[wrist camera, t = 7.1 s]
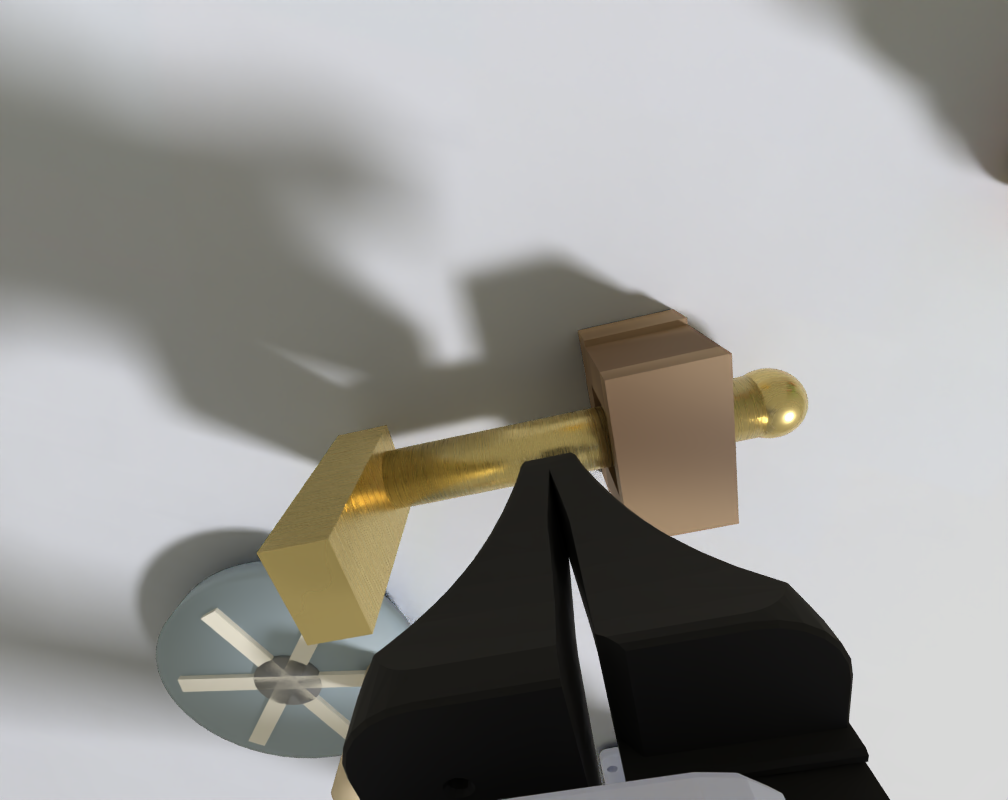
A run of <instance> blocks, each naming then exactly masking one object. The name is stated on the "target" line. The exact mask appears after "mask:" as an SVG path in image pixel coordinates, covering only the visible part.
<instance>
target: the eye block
mask: <svg viewBox="0 0 1008 800" xmlns="http://www.w3.org/2000/svg"><path fill="white" fill-rule="evenodd" d="M578 335H579V341H580V346H581V352H582V358H583V364H584V370H585V375H586V381H587V387H588V393H589V399H590V404H591V408H594V407H599V406H602V407H603V409H604V411H605V413H606V415H607V421H608V428H609V434H610V440H611V447H612V453H613V459H614V465H615V466H612V467H607V468H602V474H603V476H604V479H605V482H606V484H607V487H608V490H609V492H611V494H612V495H613V496H614V497H615V498H616V499H617V500H619V501H620V502H621V503H622V504H624V505H625V506H626V507H627V508H628V509H630V510H631V511H632V512H634V513H635V514H636V515H638V516H639V517H641V518H642V519H643V520H645V521H646V522H648V523H649V524H651V525H652V526H654V527H655V528H657V529H658V530H660V531H662V532H664V533H665V534H667V535H669V536H674V535H679V534H685V533H690V532H695V531H701V530H706V529H712V528H717V527H722V526H728V525H733V524H739V517H738V493H737V468H736V444H735V420H734V396H733V372H732V353H730V352H729V351H727V350H726V349H724V348H723V347H721V346H720V345H718V344H717V343H715V342H714V341H712V340H710V339H709V338H707V337H706V336H704V335H703V334H701V333H700V332H698V331H697V330H695V329H694V328H692V327H691V326H689V325H688V323H687V318H686V317H685V316H683V315H682V314H680V313H678V312H677V311H675V310H674V309H671V310H667V311H662V312H658V313H653V314H649V315H644V316H640V317H636V318H631V319H627V320H622V321H618V322H613V323H609V324H604V325H600V326H595V327H591V328H587V329H582V330H578Z"/></svg>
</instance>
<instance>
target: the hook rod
mask: <svg viewBox="0 0 1008 800" xmlns="http://www.w3.org/2000/svg"><path fill="white" fill-rule="evenodd" d="M733 396H734V420H735V442H738V441H743V440H748V439H753V438H758V437H760V438H776V437H780V436H784V435H786V434H788V433H790V432H792V431H793V430H795V429H796V428H797V427H798V426H799V425H800V424H801V423H802V421H803V420H804V418H805V416H806V413H807V409H808V398H807V394H806V391H805V389H804V387H803V386H802V384H801V383H800V382H799V381H798V380H797V379H796V378H795V377H794V376H792V375H791V374H789V373H787V372H784V371H782V370H777V369H771V368H765V369H758V370H754V371H751V372H749V373H747V374H745V375H744V376H742V377H737V378H733ZM570 452H572V453H573V454H575V455H576V456H577V458H578V459H579V460H580V462H581V463H582V464H583V466H584V467H585V468H586V469H587V470H588V471H592V470H597V469H602V468H607V467H612V466H615V465H614V459H613V453H612V447H611V440H610V434H609V428H608V421H607V415H606V413H605V411H604V409H603V407H602V406H599V407H594V408H589V409H584V410H580V411H575V412H570V413H565V414H561V415H556V416H551V417H546V418H542V419H537V420H532V421H527V422H523V423H518V424H513V425H508V426H504V427H499V428H494V429H489V430H484V431H480V432H475V433H470V434H465V435H461V436H456V437H451V438H446V439H442V440H437V441H432V442H427V443H423V444H418V445H413V446H408V447H404V448H399V449H395V447H394V444H393V442H392V439H391V436H390V434H389V431H388V428H387V425H385V426H380V427H376V428H371V429H366V430H362V431H357V432H353V433H348V434H343V435H339V436H338V437H337V438H336V440H335V441H334V443H333V444H332V445H331V447H330V448H329V450H328V451H327V453H326V454H325V455H324V457H323V458H322V460H321V461H320V463H319V464H318V466H317V467H316V468H315V470H314V471H313V473H312V474H311V476H310V477H309V478H308V480H307V481H306V483H305V484H304V486H303V487H302V489H301V490H300V491H299V493H298V494H297V496H296V497H295V499H294V500H293V501H292V503H291V504H290V506H289V507H288V509H287V510H286V512H285V513H284V514H283V516H282V517H281V519H280V520H279V522H278V523H277V524H276V526H275V527H274V529H273V530H272V532H271V533H270V535H269V536H268V537H267V539H266V540H265V542H264V543H263V545H262V546H261V547H260V549H259V550H258V552H257V555H258V557H259V558H260V560H261V562H262V564H263V566H264V568H265V569H266V571H267V573H268V575H269V577H270V578H271V580H272V582H273V584H274V586H275V587H276V589H277V591H278V593H279V595H280V596H281V598H282V600H283V602H284V604H285V606H286V607H287V609H288V611H289V613H290V615H291V616H292V618H293V620H294V622H295V624H296V625H297V627H298V629H299V631H300V633H301V634H302V636H303V638H304V640H305V642H306V644H307V645H314V644H319V643H325V642H330V641H336V640H342V639H347V638H353V637H359V636H364V635H370V634H373V631H374V628H375V625H376V621H377V618H378V614H379V611H380V608H381V604H382V601H383V598H384V594H385V591H386V587H387V584H388V581H389V577H390V574H391V571H392V567H393V564H394V560H395V557H396V554H397V550H398V547H399V544H400V540H401V537H402V533H403V530H404V527H405V523H406V520H407V517H408V513H409V510H410V507H411V506H416V505H421V504H426V503H431V502H436V501H441V500H446V499H451V498H456V497H461V496H466V495H472V494H477V493H482V492H487V491H492V490H497V489H502V488H507V487H512V486H514V485H515V483H516V480H517V477H518V474H519V471H520V467H521V465H522V464H523V463H524V462H525V461H530V460H535V459H540V458H545V457H550V456H555V455H560V454H565V453H570Z"/></svg>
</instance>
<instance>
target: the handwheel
mask: <svg viewBox="0 0 1008 800" xmlns="http://www.w3.org/2000/svg"><path fill="white" fill-rule="evenodd" d="M410 626H411V625H410V623H409V622H408V620H407V619H406V617H405V616H404V615H403V614H402V613H401V611H400V610H399V609H398V608H397V607H396V606H395V605H394V604H393V603H392V602H391V601H390V600H389V599H388V598H386V597H385V596H384V598H383V601H382V604H381V608H380V611H379V614H378V618H377V621H376V625H375V628H374V631H373V634H370V635H364V636H359V637H353V638H347V639H342V640H336V641H330V642H325V643H319V644H314V645H307V644H306V642H305V640H304V638H303V636H302V634H301V633H300V631H299V629H298V627H297V625H296V624H295V622H294V620H293V618H292V616H291V615H290V613H289V611H288V609H287V607H286V606H285V604H284V602H283V600H282V598H281V596H280V595H279V593H278V591H277V589H276V587H275V586H274V584H273V582H272V580H271V578H270V577H269V575H268V573H267V571H266V569H265V568H264V566H263V564H262V562H261V561H259V562H251V563H246V564H241V565H237V566H234V567H231V568H228V569H225V570H222V571H220V572H218V573H216V574H214V575H212V576H210V577H208V578H207V579H205V580H204V581H202V582H201V583H199V584H198V585H197V586H196V587H195V588H194V589H193V590H192V591H191V592H190V593H189V594H188V595H187V596H186V597H185V599H184V600H183V601H182V602H181V604H180V605H179V606H178V607H177V609H176V610H175V611H174V612H173V614H172V615H171V616H170V618H169V619H168V620H167V622H166V623H165V624H164V626H163V628H162V631H161V633H160V635H159V638H158V643H157V647H156V661H157V667H158V672H159V674H160V677H161V680H162V682H163V684H164V686H165V688H166V690H167V691H168V693H169V695H170V696H171V697H172V699H173V700H174V701H175V702H176V704H177V705H178V706H179V707H180V708H181V709H182V710H183V711H184V712H185V713H186V714H187V715H188V716H189V717H191V718H192V719H193V720H194V721H196V722H197V723H198V724H199V725H201V726H203V727H204V728H206V729H207V730H209V731H210V732H212V733H214V734H216V735H217V736H219V737H221V738H223V739H225V740H228V741H230V742H232V743H234V744H237V745H239V746H242V747H245V748H248V749H251V750H255V751H259V752H263V753H267V754H272V755H278V756H283V757H294V758H322V757H332V756H339V755H343V746H344V742H345V739H346V735H347V732H348V729H349V725H350V722H351V718H352V715H353V711H354V708H355V704H356V701H357V697H358V695H359V692H360V689H361V686H362V683H363V680H364V678H365V676H366V673H367V671H368V669H369V666H370V664H371V661H372V658H373V656H374V654H376V653H377V652H378V651H380V650H381V649H382V648H384V647H385V646H386V645H387V644H389V643H390V642H391V641H392V640H394V639H395V638H396V637H397V636H399V635H400V634H401V633H402V632H403V631H405V630H406V629H407V628H408V627H410ZM331 795H332V798H333V800H360V799H359V797H358V795H357V794H356V792H355V790H354V789H353V787H352V785H351V784H350V782H349V780H348V779H347V776H346V773H345V771H344V768H343V765H342V756H341V759H340V763H339V766H338V770H337V773H336V777H335V780H334V784H333V787H332V791H331Z"/></svg>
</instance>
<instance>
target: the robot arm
mask: <svg viewBox="0 0 1008 800" xmlns="http://www.w3.org/2000/svg"><path fill="white" fill-rule="evenodd" d="M569 559H570V562H571V566H572V569H573V572H574V575H575V579H576V582H577V585H578V588H579V591H580V595H581V598H582V601H583V604H584V608H585V611H586V614H587V617H588V620H589V624H590V627H591V630H592V633H593V637H594V640H595V644H596V648H597V652H598V656H599V660H600V665H601V670H602V674H603V679H604V684H605V688H606V693H607V698H608V702H609V707H610V711H611V716H612V721H613V725H614V730H615V735H616V739H617V744H618V747H613V748H607V749H604V750H603V751H601V753H600V754H599V758H600V763H601V768H602V772H603V776H604V780H605V784H606V785H602V784H601V779H600V773H599V768H598V763H597V757H596V752H595V746H594V741H593V735H592V730H591V724H590V719H589V714H588V708H587V703H586V697H585V692H584V686H583V680H582V675H581V669H580V664H579V658H578V651H577V643H576V634H575V623H574V611H573V600H572V588H571V577H570V565H569ZM852 680H853V672H852V664H851V658H850V656H849V655H848V653H847V651H846V650H845V648H844V646H843V645H842V643H841V642H840V641H839V639H838V638H837V637H836V635H835V634H834V633H833V631H832V630H831V629H830V628H829V626H828V625H827V624H826V623H825V621H824V620H823V619H822V618H821V617H820V616H819V615H818V614H817V613H816V612H815V611H814V609H813V608H812V607H811V606H810V605H809V604H808V603H807V602H806V601H805V600H804V599H803V598H802V597H801V596H800V595H799V594H798V593H797V592H796V591H795V590H794V589H793V588H792V587H791V586H790V585H789V584H788V583H786V582H783V581H780V580H776V579H773V578H770V577H767V576H764V575H761V574H758V573H755V572H752V571H749V570H746V569H743V568H739V567H737V566H734V565H731V564H729V563H726V562H724V561H722V560H719V559H717V558H714V557H712V556H709V555H707V554H705V553H703V552H700V551H698V550H696V549H694V548H692V547H690V546H688V545H686V544H684V543H682V542H680V541H678V540H676V539H674V538H672V537H670V536H669V535H667V534H665V533H664V532H662V531H660V530H658V529H657V528H655V527H654V526H652V525H651V524H649V523H648V522H646V521H645V520H643V519H642V518H641V517H639V516H638V515H636V514H635V513H634V512H632V511H631V510H630V509H628V508H627V507H626V506H625V505H624V504H622V503H621V502H620V501H619V500H617V499H616V498H615V497H614V496H613V495H612V494H611V493H609V492H608V491H607V490H606V489H605V488H604V487H603V486H602V485H601V484H600V483H599V482H598V481H597V480H596V479H595V478H594V477H593V476H592V475H591V474H590V473H589V471H588V470H587V469H586V468H585V467H584V466H583V464H582V463H581V462H580V460H579V459H578V458H577V456H576V455H575V454H573V453H572V452H570V453H565V454H560V455H555V456H550V457H545V458H540V459H535V460H530V461H525V462H524V463H523V464H522V465H521V467H520V471H519V474H518V477H517V480H516V483H515V485H514V488H513V490H512V493H511V495H510V497H509V499H508V502H507V504H506V506H505V508H504V510H503V512H502V514H501V516H500V518H499V520H498V521H497V523H496V525H495V527H494V529H493V531H492V532H491V534H490V536H489V537H488V539H487V541H486V542H485V544H484V545H483V547H482V548H481V550H480V551H479V553H478V554H477V555H476V557H475V558H474V560H473V561H472V562H471V564H470V565H469V566H468V567H467V569H466V570H465V571H464V572H463V574H462V575H461V576H460V577H459V578H458V579H457V581H456V582H455V583H454V584H453V585H452V586H451V588H450V589H449V590H448V591H447V592H446V593H445V594H444V595H443V596H442V597H441V598H440V599H439V600H438V601H437V602H436V603H435V604H434V605H433V606H432V607H431V608H430V609H429V610H428V611H427V612H425V613H424V614H423V615H422V616H421V617H420V618H419V619H418V620H417V621H416V622H414V623H413V624H412V625H411V626H410V627H408V628H407V629H406V630H405V631H403V632H402V633H401V634H400V635H399V636H397V637H396V638H395V639H394V640H392V641H391V642H390V643H389V644H387V645H386V646H385V647H384V648H382V649H381V650H380V651H378V652H377V653H376V654H374V656H373V658H372V661H371V664H370V666H369V669H368V671H367V673H366V676H365V678H364V680H363V683H362V686H361V689H360V692H359V695H358V697H357V701H356V704H355V708H354V711H353V715H352V718H351V722H350V725H349V729H348V732H347V735H346V739H345V742H344V746H343V755H342V765H343V768H344V771H345V773H346V776H347V779H348V780H349V782H350V784H351V785H352V787H353V789H354V790H355V792H356V794H357V795H358V797H359V799H360V800H890V799H889V797H888V796H887V794H886V793H885V791H884V790H883V788H882V787H881V785H880V784H879V782H878V781H877V779H876V777H875V776H874V774H873V773H872V771H871V770H870V768H869V767H868V765H867V764H866V762H868V757H869V755H868V752H867V750H866V747H865V746H864V744H863V743H862V741H861V740H860V738H859V737H858V735H857V734H856V732H855V731H854V729H853V728H852V726H851V725H850V723H849V713H850V702H851V691H852Z"/></svg>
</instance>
